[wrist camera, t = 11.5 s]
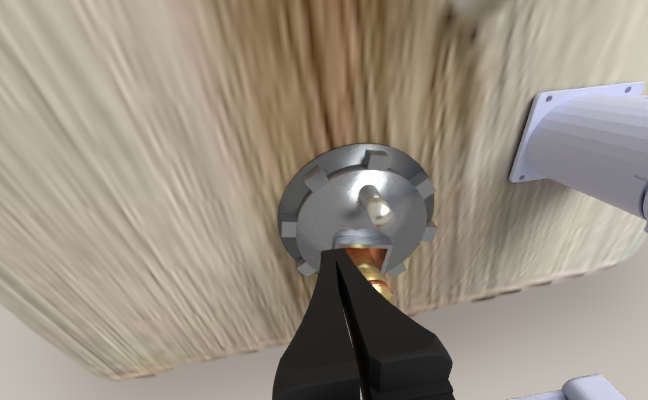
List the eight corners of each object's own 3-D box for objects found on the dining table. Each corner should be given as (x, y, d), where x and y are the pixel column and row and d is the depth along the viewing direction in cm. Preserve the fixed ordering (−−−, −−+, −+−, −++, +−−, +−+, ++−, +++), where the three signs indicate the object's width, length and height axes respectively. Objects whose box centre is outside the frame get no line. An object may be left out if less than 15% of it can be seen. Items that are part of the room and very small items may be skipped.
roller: (377, 249, 23) (401, 292, 19) (364, 274, 24) (383, 320, 20) (346, 244, 22) (364, 289, 18) (333, 271, 23) (347, 318, 19)
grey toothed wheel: (459, 189, 23) (504, 222, 18) (378, 289, 28) (396, 334, 23) (327, 121, 18) (339, 141, 13) (261, 255, 24) (254, 303, 19)
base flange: (443, 133, 20) (446, 134, 20) (422, 265, 28) (424, 267, 27) (262, 154, 19) (262, 156, 19) (291, 285, 27) (291, 288, 27)
